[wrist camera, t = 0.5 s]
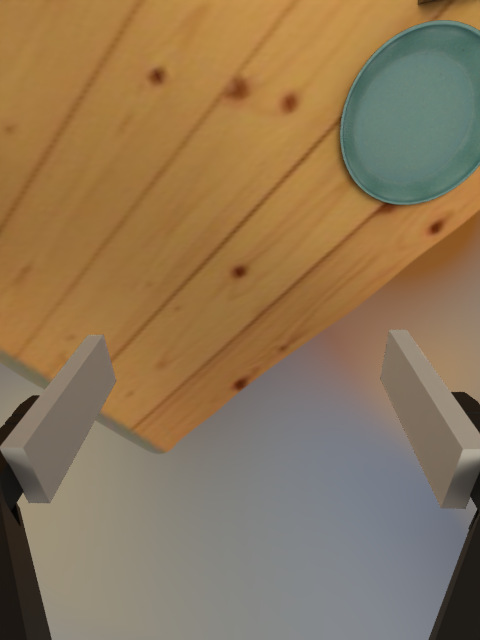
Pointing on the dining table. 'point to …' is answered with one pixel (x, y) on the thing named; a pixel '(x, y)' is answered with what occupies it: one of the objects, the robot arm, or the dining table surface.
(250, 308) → the dining table surface
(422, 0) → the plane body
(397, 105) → the saucer
